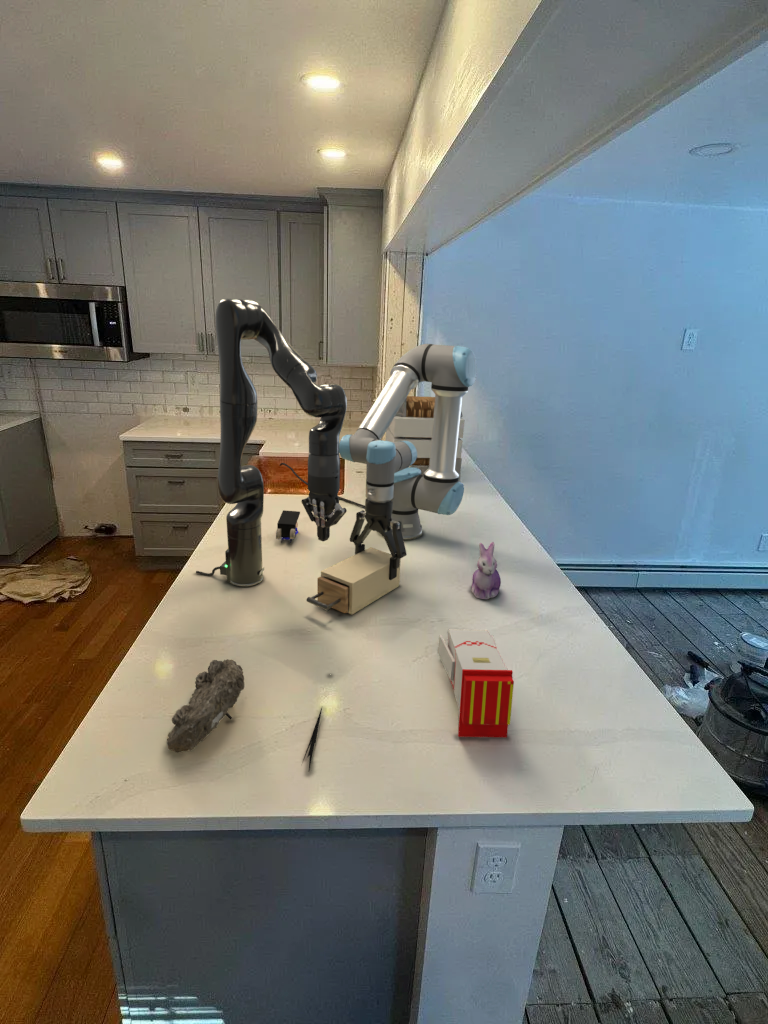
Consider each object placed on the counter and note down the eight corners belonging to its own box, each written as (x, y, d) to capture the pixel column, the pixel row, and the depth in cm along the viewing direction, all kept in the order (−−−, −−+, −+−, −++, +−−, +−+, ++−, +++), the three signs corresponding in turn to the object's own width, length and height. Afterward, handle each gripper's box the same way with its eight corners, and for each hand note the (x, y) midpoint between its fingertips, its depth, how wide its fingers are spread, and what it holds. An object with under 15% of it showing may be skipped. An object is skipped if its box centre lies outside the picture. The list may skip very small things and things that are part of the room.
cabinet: (351, 614, 146) (352, 583, 143) (320, 601, 152) (320, 571, 149) (399, 586, 162) (400, 557, 159) (369, 574, 168) (370, 547, 165)
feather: (331, 679, 122) (336, 673, 122) (307, 777, 96) (313, 769, 95) (324, 675, 122) (329, 669, 121) (298, 772, 95) (304, 764, 95)
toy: (488, 613, 130) (523, 677, 101) (484, 667, 133) (517, 744, 104) (435, 612, 130) (455, 676, 101) (432, 666, 133) (451, 743, 103)
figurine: (482, 603, 154) (488, 553, 149) (461, 587, 163) (466, 539, 158) (510, 597, 158) (516, 547, 153) (487, 581, 167) (493, 534, 162)
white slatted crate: (382, 463, 289) (386, 382, 275) (445, 464, 293) (451, 384, 279) (390, 482, 257) (394, 392, 243) (460, 483, 261) (468, 394, 247)
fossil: (192, 660, 117) (244, 628, 112) (224, 691, 120) (276, 661, 115) (142, 746, 98) (202, 712, 93) (182, 779, 101) (242, 748, 96)
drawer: (330, 622, 140) (330, 597, 138) (302, 609, 146) (302, 585, 143) (390, 586, 160) (392, 563, 157) (364, 576, 165) (364, 554, 163)
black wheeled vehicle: (295, 549, 186) (301, 528, 200) (295, 529, 183) (300, 509, 196) (275, 549, 186) (282, 527, 199) (274, 528, 183) (281, 508, 196)
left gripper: (292, 468, 133) (292, 537, 139) (334, 480, 126) (333, 551, 132) (314, 463, 139) (314, 528, 145) (356, 473, 131) (354, 542, 137)
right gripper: (337, 492, 157) (336, 564, 164) (406, 512, 144) (402, 589, 152) (354, 486, 163) (352, 556, 170) (422, 505, 150) (417, 579, 157)
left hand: (323, 539), depth 138 cm, fingers closed
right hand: (376, 572), depth 161 cm, fingers closed on cabinet, 11 cm apart
